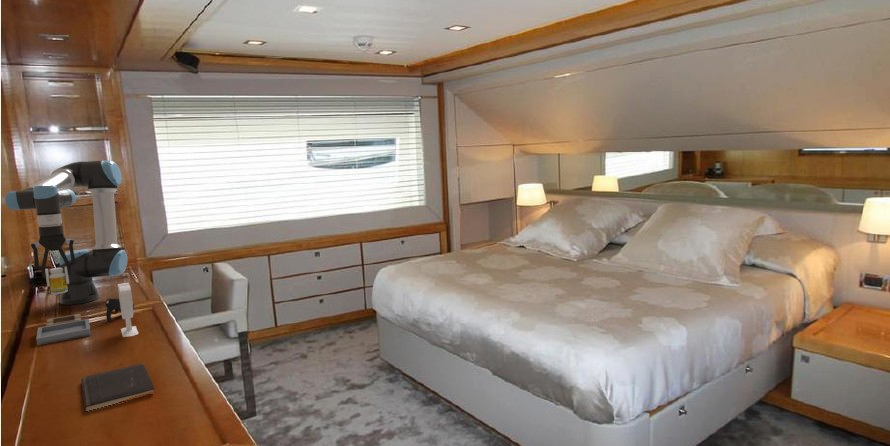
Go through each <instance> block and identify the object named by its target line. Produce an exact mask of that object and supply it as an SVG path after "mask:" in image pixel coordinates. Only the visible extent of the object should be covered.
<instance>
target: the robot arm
mask: <svg viewBox="0 0 890 446" xmlns="http://www.w3.org/2000/svg"><path fill="white" fill-rule="evenodd" d="M122 175H123V174H122V172H121V169H120V167H119V166H118V164H117V163H116V162H115V161H113V160H89V161H87V160H86V161H75V162H72V163H68V164H65V165H63V166H60V167H59V168H56V169H54V170H53V171H52V172H51V174H50V175H48V176H47V177H44V178H43V179H40V180H39V181H37V182H35V183H33V184H31V185H30V186H28V187H25V188H24V189H21V190H11V191H8V192H6V194H5V197H4V202H5V205H6V207H7V208H8V209H9V210H11V211H26V210H28V211H29V210H35V212H36V219H37V221H36V222H37V225H38V226H39V227H38V235H39V239H38V241H36V242H32V243H31V244H30V247H31V249H32V251H33V260H34V269H36V270H41V275H42V276H41V278H42V279H45V280H46V286H47V287H50V282H49V275H50V274H49V273H50V272H49V269H48V268H46V266H47V262H48V257H49V251H51V250H58V252H59V253H60V257H59V268H63V272H62V273H65V275H66V283H67V289H68V291H67V292H65V293H61V294H60V297H59V302H60V304H61V305H67V306H68V305H69V306H70V305H80V304H85V303H90V302H93V301H95V300H99V298H100V293H99V291H98V288H97V287H96V285H95V284H94V280H93V278H104V277H115V276H117V277H118V276H121V275H122V274H124V272H125V271H126V269H127V265H128V255H127V254H128V253H127V251H126V250H123V248H122V245H120V244H119V243H118V232H117V231H118V230H117V219H116V206H115V202H116V201H115V192H116V191H117V190H118V186H120V185H122V181H123V176H122ZM79 187H81V188H82V187H83V188H84V187H85V188H86V187H87V191H88V192H90V193H91V195H92V210H93V222H94V225H93V226H94V235H95V236H94V238H95V245H94V246H93V247H92V248H91V250H92V252H90V250H89V249H81V250H76V251H75V250H74V242H75V240H74V238H67V237H65V234H64V227H63V225H62V224H63V220H62V219H63V217H62V212H61V209H62V208H69V207H71V206H73V205H74V204H75V202H76V201H77V196H76V194H75V192H74V191H73V189H72V188H79ZM71 189H72V190H71ZM64 243H66V244H67V245H68V249H69V252H68V253H65V251H64V249H63V245H64ZM39 245H41V247H43V248H44V253H43V258H42V263H41V265H40V259H39V250H38V248H39Z"/></svg>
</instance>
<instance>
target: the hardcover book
mask: <svg viewBox="0 0 890 446" xmlns="http://www.w3.org/2000/svg"><path fill="white" fill-rule="evenodd" d="M81 388H82V389H81V391H82V399H83V408H84V412H86V411H88V412H90V411H89V410H92V411H94V410H93V409H96V410H98V409H97V408H99V409H102V408H101V407H103V408H105V407H104V406H107V407H109V406H108V405H111V406H113V405H112V404H115V403H118V402H120V401H123V400H126V399H129V398H132V397H135V396H139V395H142V394H146V393H149V392H153V393H154V390H155V389H156V388H155V387H154V383H153V381H152V379H151V377H150V375H149V373H148V371H147V368H146V366H145V363H139V364H133V365H129V366H126V367H121V368H118V369H113V370H108V371H104V372H100V373H95V374H90V375H86V376H83V377H81ZM118 404H119V403H118ZM115 405H116V404H115ZM86 413H87V412H86Z"/></svg>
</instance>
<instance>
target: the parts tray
mask: <svg viewBox="0 0 890 446" xmlns="http://www.w3.org/2000/svg"><path fill="white" fill-rule="evenodd" d="M89 319H90V318H84V319H81V320H78V321H73V322H67V323H61V324H56V325H50V326H46V325H45V326H40V327H37V332H36V345H37V346H42V345H46V344H52V343H58V342H63V341H69V340H74V339H78V338H83V337H89V336H92V332H91V326H90V320H89Z"/></svg>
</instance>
